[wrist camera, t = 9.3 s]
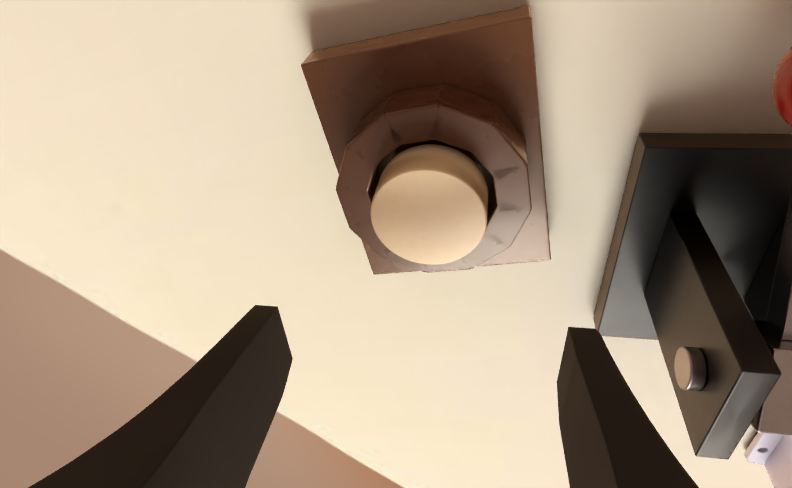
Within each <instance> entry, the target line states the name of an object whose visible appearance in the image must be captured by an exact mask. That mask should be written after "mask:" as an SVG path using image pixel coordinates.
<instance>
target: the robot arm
mask: <svg viewBox="0 0 792 488" xmlns="http://www.w3.org/2000/svg"><path fill="white" fill-rule="evenodd" d="M291 363H292V355H291V352H290V348H289V345H288V341H287V338H286V334H285V331H284V327H283V324H282V321H281V317H280V314H279V310H278V307H274V306H260V305H255V306H254V307H253V308H252V309H251V310H250V311H249V312H248V313H247V314H246V315H245V316H244V317H243V318H242V319H241V320H240V321H239V322H238V323H237V324H236V325H235V326H234V327H233V328H232V329H231V330H230V331H229V332H228V333H227V334H226V335H225V336H224V337H223V338H222V339H221V340H220V341H219V342H218V343H217V344H216V345H215V346H214V347H213V348H212V349H211V350H210V351H209V352H208V353H207V354H206V355H204V356H203V357H202V358H201V359H200V360H199V361H198V362H197V363H196V364H195V365H194V366H193V367H192V368H191V369H190V370H189V371H188V372H187V373H186V374H184V375H183V376H182V377H181V378H180V379H179V380H178V381H177V382H175V384H173V385H172V386H171V387H170V388H169V389H168V390H166V391H165V392H164V393H163V394H162V395H161V396H160V397H158V398H157V399H156V400H155V401H154V402H153V403H151V404H150V405H149V406H148V407H146V408H145V409H144V410H143V411H141V412H140V413H139V414H138V415H137V416H135V417H134V418H132V419H131V420H130V421H129V422H128V423H126V424H125V425H123V426H122V427H121V428H119V429H118V430H117V431H115V432H114V433H113V434H111V435H109V436H108V437H107V438H105V439H104V440H103V441H101V442H99V443H98V444H96V445H95V446H93V447H92V448H91V449H89V450H88V451H86V452H85V453H83V454H82V455H80V456H79V457H77V458H76V459H74V460H73V461H71V462H70V463H69V464H67V465H65V466H63V467H62V468H60V469H59V470H57V471H55V472H54V473H52V474H51V475H49V476H47V477H46V478H44V479H42V480H40V481H39V482H37V483H35V484H34V485H32V486H30V487H29V488H245V486H246V484H247V481H248V478H249V475H250V473H251V471H252V468H253V466H254V463H255V461H256V459H257V456H258V454H259V451H260V449H261V447H262V444H263V442H264V440H265V437H266V435H267V432H268V430H269V427H270V425H271V423H272V420H273V418H274V415H275V413H276V411H277V408H278V406H279V403H280V401H281V398H282V396H283V392H284V389H285V385H286V382H287V378H288V374H289V370H290V367H291ZM557 390H558V409H559V424H560V430H561V436H562V442H563V448H564V454H565V460H566V466H567V472H568V478H569V484H570V488H699V487H698V486H697V485H696V483H695V482H694V481H693V480H692V478H691V477H690V476H689V475H688V473H687V472H686V471H685V469H684V468H683V467H682V465H681V464H680V463H679V461H678V460H677V459H676V457H675V456H674V455H673V453H672V452H671V450H670V449H669V448H668V446H667V445H666V443H665V442H664V440H663V439H662V438H661V436H660V435H659V433H658V432H657V430H656V429H655V427H654V426H653V424H652V423H651V421H650V420H649V418H648V417H647V415H646V414H645V412H644V411H643V409H642V407H641V406H640V404H639V403H638V401H637V399H636V398H635V396H634V395H633V393H632V391H631V390H630V388H629V386H628V385H627V383H626V381H625V380H624V378H623V376H622V374H621V373H620V371H619V369H618V367H617V365H616V364H615V362H614V360H613V358H612V356H611V354H610V352H609V350H608V349H607V347H606V345H605V343H604V341H603V338H602V336H601V334H600V333H599V332H598V331H597V330H596V329H589V328H575V327H568V332H567V337H566V342H565V346H564V351H563V356H562V361H561V365H560V370H559V375H558V380H557ZM744 456H745V458H746V460H747V462H749V463H753V464H761V465H765V467H766V469H767V472H768V474H769V476H770V479H771V481H772V483H773V486H774V488H792V436H791V435H780V434H770V433H759V432H758V433H757V435H756V436H755V438H754V439H753V441H752V442H751V444H750V445H749V447H748V448H747V450H746V451H745V453H744Z"/></svg>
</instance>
